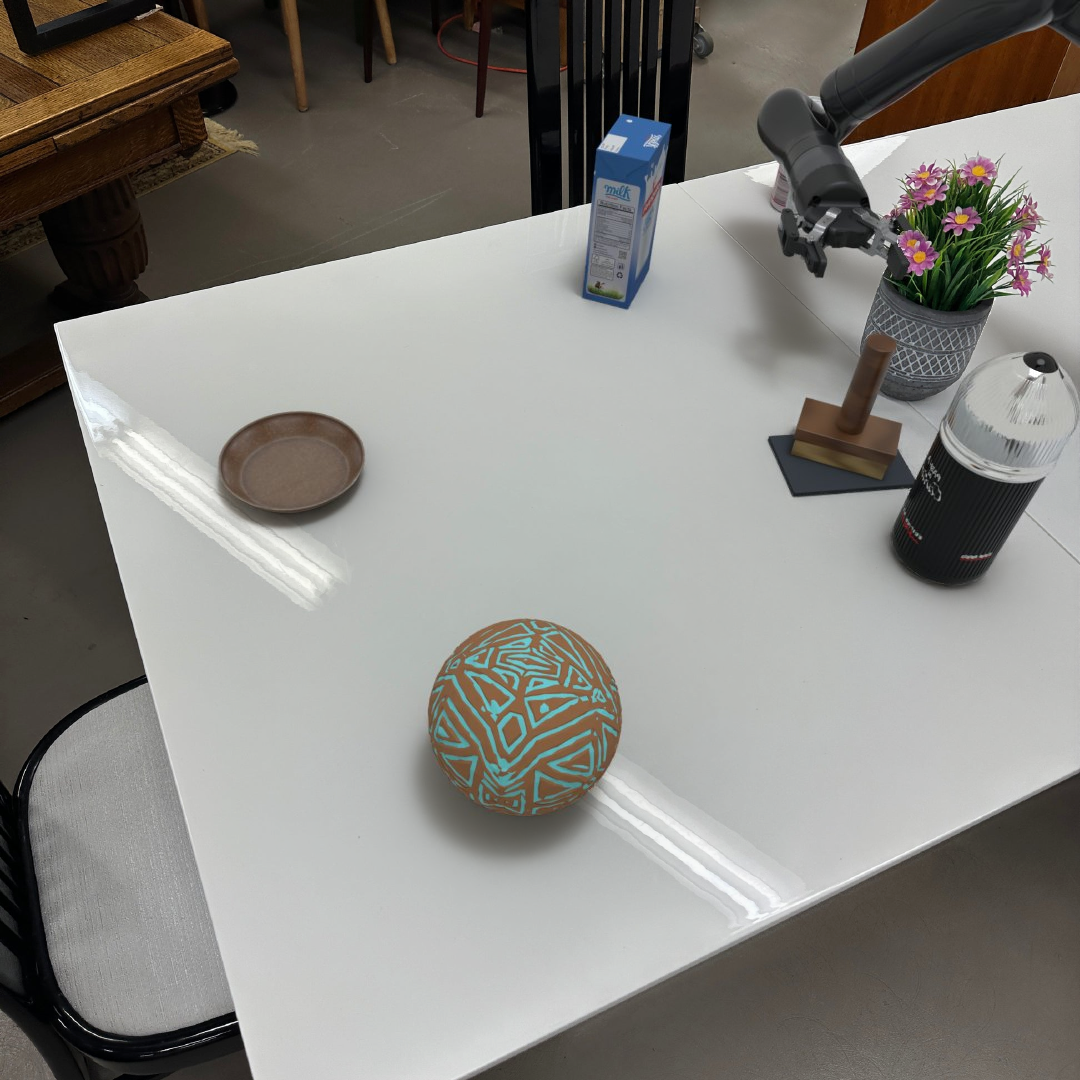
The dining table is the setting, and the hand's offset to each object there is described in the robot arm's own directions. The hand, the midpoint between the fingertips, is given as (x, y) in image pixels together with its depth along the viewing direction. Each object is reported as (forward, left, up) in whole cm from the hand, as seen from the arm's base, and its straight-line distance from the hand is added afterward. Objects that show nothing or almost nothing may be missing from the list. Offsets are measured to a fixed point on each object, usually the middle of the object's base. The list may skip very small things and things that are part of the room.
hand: (862, 271), depth 101 cm
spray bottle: (-4, +25, -17) cm, 30 cm away
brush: (+1, +10, -17) cm, 19 cm away
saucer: (+60, +7, -17) cm, 63 cm away
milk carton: (+19, -25, -17) cm, 36 cm away
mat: (+1, +11, -17) cm, 20 cm away
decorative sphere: (+41, +43, -17) cm, 62 cm away
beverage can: (-11, -43, -17) cm, 48 cm away
